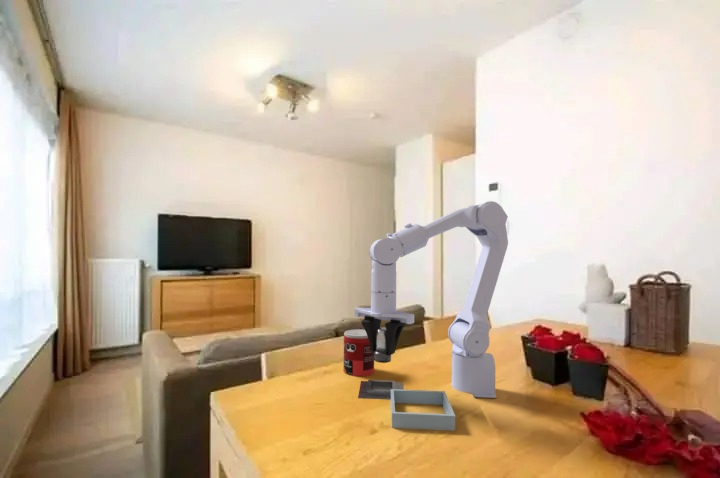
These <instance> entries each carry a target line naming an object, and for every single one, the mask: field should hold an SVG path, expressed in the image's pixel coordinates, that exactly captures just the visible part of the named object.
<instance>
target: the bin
mask: <svg viewBox="0 0 720 478" xmlns="http://www.w3.org/2000/svg"><path fill="white" fill-rule="evenodd" d="M395 404H414V405H415V404H418V405H437V406H438V405H439V406H442V408H443V411H444V413H428V412H427V413H425V412H407V411H406V412H405V411H404V412H403V411H400V412H399V411H396V407H395V406H396V405H395ZM390 415H391V418H390V419H391V420H390V421H391V428H393V429H408V430H409V429H412V430H415V429H416V430H434V431H454V432H455V431H456V414H455V411H454V410H453V407H452V404H451V403H450V400H449V398H448V395H447V393H446V391H445V390H425V389H424V390H422V389H421V390H420V389H404V390H400V389H391V400H390Z"/></svg>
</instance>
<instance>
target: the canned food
mask: <svg viewBox="0 0 720 478" xmlns="http://www.w3.org/2000/svg"><path fill="white" fill-rule="evenodd" d="M342 371H343V373H344V374H346V375H347V376H352V377H367V376H368V377H369V376H371V375H373V374H374V373H375V360H374V352H373V351H371V347H370V343H369V339H368V336H367V333H366V331H365V329H363V328H362V329H349V330H345V331H344V333H343V370H342Z"/></svg>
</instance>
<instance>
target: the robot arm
mask: <svg viewBox="0 0 720 478" xmlns="http://www.w3.org/2000/svg"><path fill="white" fill-rule="evenodd" d="M508 217H509V216H508V214H507V213H506V211H505V210H504V208H503V207H502V206H501V204H499V203H498V202H497V201H492V200H491V201H489V200H488V201H485V202H484V203H480V204H475V205H473V204H472V205H469V206H468V207H464V208H460V209H456V210H454V211H451V212H449V213H447V214H446V215H443V216H441V217H439V218H437V219H435V220H433V221H431V222H429V223H427V224H425V225H423V226H422V225H421V224H417V223H413V224H412V223H408V224H405V225H404V228H402V229H400V230H398V231H396V232H394V233H392V232H389V233H386V237H383V238H380V239H377V240H375V241H373V242H372V244H371V246H370V247H369V250H368V256H369V257H370V259H371V272H370V276H371V277H370V307H355V308H354V317H356V318H359V317H361V318H363V319H362V320H361V325H362V327H363V330H365V331H366V333H367V336H368V339H369V343H370V347H371V351H373V352H374V351H375V350H376V328H380V327H381V324H382V323H381V322H382V321H388V322H386V323H384V327H385V328H386V331H387V339H388V346H387V350H388V355H391V356H392V355H393V354H395V353H396V348H397V345H398V343H399V342H398V341H399V339H400V336H401V334H402V331H403V330H404V328H405V326H406V325H413V324H414V323H415V314H414V313H410V312H404V311H400V310H397V262H398V260H399V258H403V257H405V256H407V255H409V254H411V253H413V252H417V251H418V250H420V249H422V248H425V247H426V246H427V244H428V242H429V240H430V239H431V238H433V237H435V236H437V235H441V234H443V233H445V232H448V231H450V230H452V229H455V228H457V227H458V228H466V229H467V230H468V231H469V232H470V233H472V234H473V235H474V236H475V237H476V238H477V240H478V241H479V243H480V245H481V246H482V247H481V250H480V253H479V256H478V259H477V263H476V267H475V269H474V272H473V276H472V279H471V282H470V283H471V284H470V285H469V289H468V292H467V295H466V299H465V302H464V306H463V308H462V309H461V310H460V311H458V312H457V314H456V317H455V319H454V320H453V322H452V323H451V324H450V325H449V327H448V329H447V336H448V339H449V341H450V342H451V344H452V348H451V387H452V388H453V389H454V390H456V391H459V392H463V393H469V394H471V395H472V396H473V398H489V399H494V398H495V399H496V398H497V395H496V362H495V358H494V355H493V354H492V353H489V352H487V351H488V349H489V346H490V343H491V341H490V336H489V335H490V334H489V333H490V329H491V324H490V321H489V319H488V312H489V309H490V307H491V303H492V299H493V296H494V292H495V290H496V286H497V282H498V280H499V277H500V273H501V269H502V266H503V263H504V260H505V256H506V253H507V250H508V245H509V239H508V231H507V226H506V224H507V221H508Z"/></svg>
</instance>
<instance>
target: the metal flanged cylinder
mask: <svg viewBox="0 0 720 478" xmlns="http://www.w3.org/2000/svg"><path fill="white" fill-rule="evenodd" d="M387 346H388V339H387V331H386V327H385V326H384V327H381V326H380V328H376V350H375V351H374V362H377V363H380V364H381V363H382V364H386V363H390V362H392V355H388V350H387Z"/></svg>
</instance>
